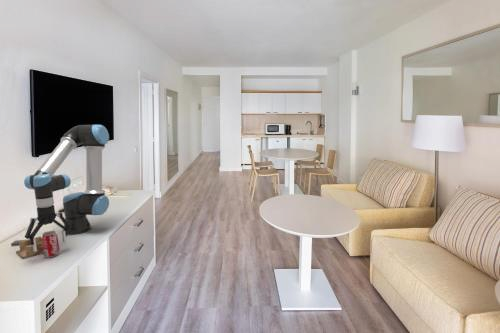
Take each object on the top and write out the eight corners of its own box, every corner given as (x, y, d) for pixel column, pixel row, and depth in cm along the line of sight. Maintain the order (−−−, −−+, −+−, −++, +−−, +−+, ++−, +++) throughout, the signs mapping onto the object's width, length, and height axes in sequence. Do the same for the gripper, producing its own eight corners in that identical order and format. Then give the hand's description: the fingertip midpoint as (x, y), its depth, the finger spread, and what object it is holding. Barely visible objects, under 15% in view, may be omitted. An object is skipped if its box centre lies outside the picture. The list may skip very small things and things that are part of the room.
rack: (45, 244, 188) (44, 235, 187) (53, 250, 180) (52, 240, 179) (16, 253, 178) (14, 243, 177) (23, 259, 170) (21, 248, 169)
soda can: (62, 252, 177) (59, 230, 175) (57, 257, 171) (53, 234, 169) (47, 253, 176) (44, 231, 174) (41, 259, 169) (38, 236, 167)
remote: (11, 247, 188) (10, 242, 187) (15, 244, 192) (14, 239, 192) (43, 244, 191) (42, 240, 190) (46, 241, 195) (45, 237, 195)
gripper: (68, 199, 181) (73, 237, 184) (13, 210, 162) (19, 252, 166) (74, 201, 176) (78, 240, 179) (18, 212, 157) (24, 256, 161)
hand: (50, 246), depth 172 cm, fingers open, 13 cm apart
